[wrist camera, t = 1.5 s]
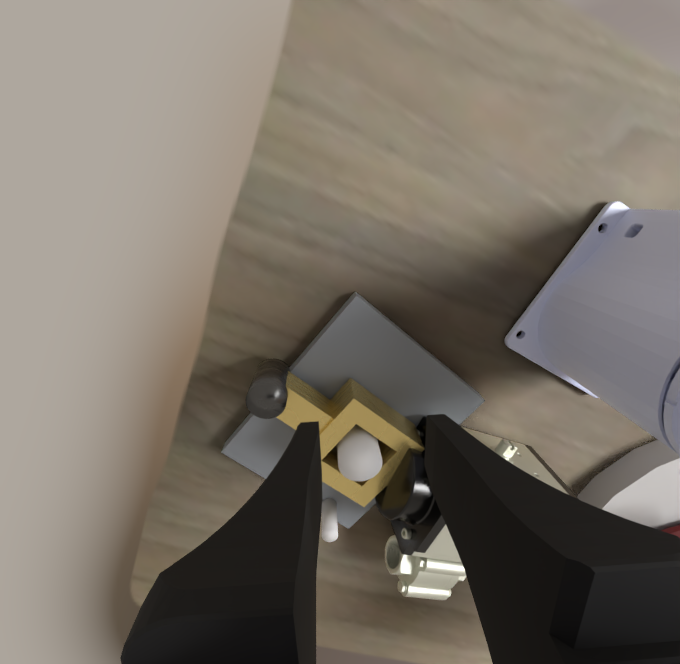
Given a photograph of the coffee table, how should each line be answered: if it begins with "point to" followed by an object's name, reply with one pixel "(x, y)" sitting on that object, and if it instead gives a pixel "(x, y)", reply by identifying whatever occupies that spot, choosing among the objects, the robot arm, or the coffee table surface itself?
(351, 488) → the square nut with handle
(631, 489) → the gramophone
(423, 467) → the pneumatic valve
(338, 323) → the plate
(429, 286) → the coffee table surface
